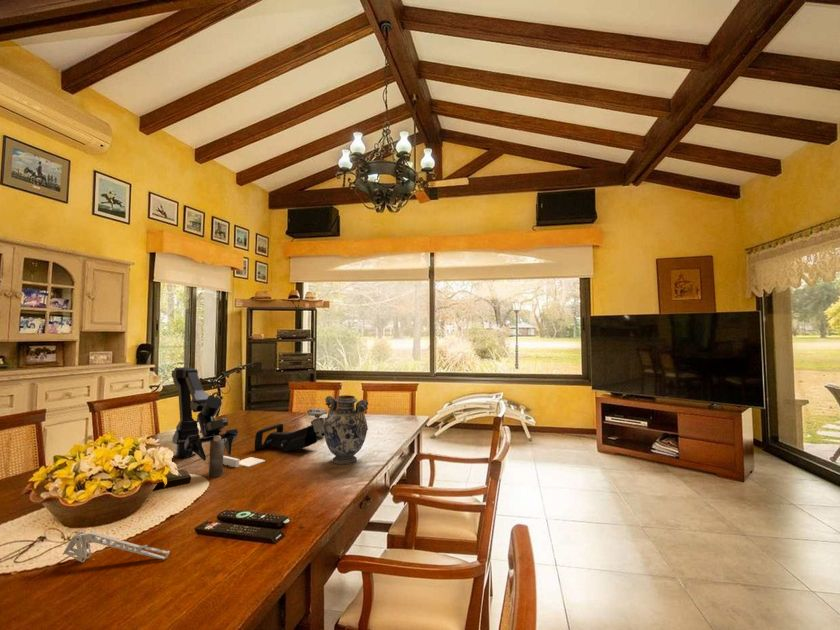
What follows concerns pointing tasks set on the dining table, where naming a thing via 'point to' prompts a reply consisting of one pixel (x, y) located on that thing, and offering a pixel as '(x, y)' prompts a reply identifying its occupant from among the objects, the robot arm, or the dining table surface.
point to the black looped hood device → (286, 438)
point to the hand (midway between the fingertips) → (217, 457)
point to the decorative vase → (345, 427)
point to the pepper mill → (216, 457)
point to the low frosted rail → (230, 461)
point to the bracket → (91, 538)
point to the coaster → (250, 462)
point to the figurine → (317, 421)
